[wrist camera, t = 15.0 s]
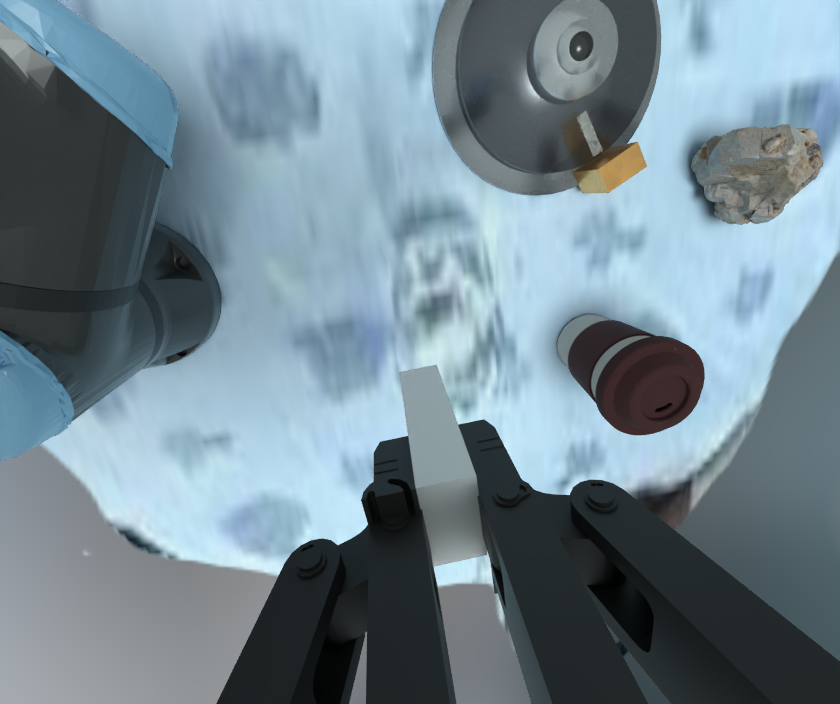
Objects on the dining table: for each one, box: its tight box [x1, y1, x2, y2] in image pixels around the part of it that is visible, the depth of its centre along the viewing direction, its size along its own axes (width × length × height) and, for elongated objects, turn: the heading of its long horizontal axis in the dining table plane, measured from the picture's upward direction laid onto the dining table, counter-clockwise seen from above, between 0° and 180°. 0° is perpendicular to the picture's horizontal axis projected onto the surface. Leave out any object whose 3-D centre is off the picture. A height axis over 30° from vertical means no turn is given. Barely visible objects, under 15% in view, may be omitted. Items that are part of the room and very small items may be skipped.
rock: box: [691, 124, 823, 225], centre depth 39 cm, size 9×12×10 cm
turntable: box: [455, 0, 657, 193], centre depth 34 cm, size 18×21×5 cm
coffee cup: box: [557, 314, 705, 435], centre depth 42 cm, size 10×10×15 cm
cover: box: [526, 0, 618, 104], centre depth 33 cm, size 7×7×3 cm
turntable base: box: [432, 0, 661, 195], centre depth 37 cm, size 22×22×1 cm
